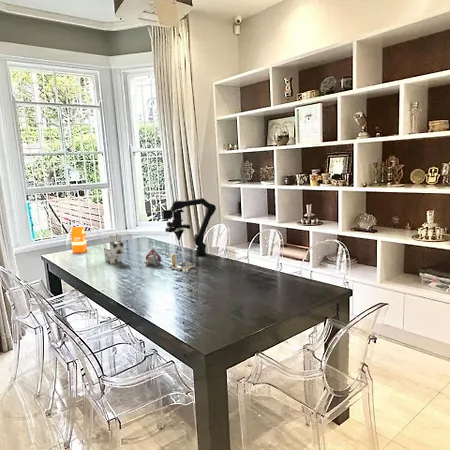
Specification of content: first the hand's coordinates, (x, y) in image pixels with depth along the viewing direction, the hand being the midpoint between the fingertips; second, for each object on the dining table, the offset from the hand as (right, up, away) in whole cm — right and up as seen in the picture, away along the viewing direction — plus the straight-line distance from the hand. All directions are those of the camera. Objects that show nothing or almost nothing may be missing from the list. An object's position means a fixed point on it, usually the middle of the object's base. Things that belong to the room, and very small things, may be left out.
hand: (178, 239), depth 281 cm
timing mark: (+8, -19, -34) cm, 40 cm away
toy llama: (-45, -16, -4) cm, 48 cm away
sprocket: (+5, -17, -23) cm, 29 cm away
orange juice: (-84, -11, +34) cm, 91 cm away
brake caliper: (-15, -17, -15) cm, 27 cm away
